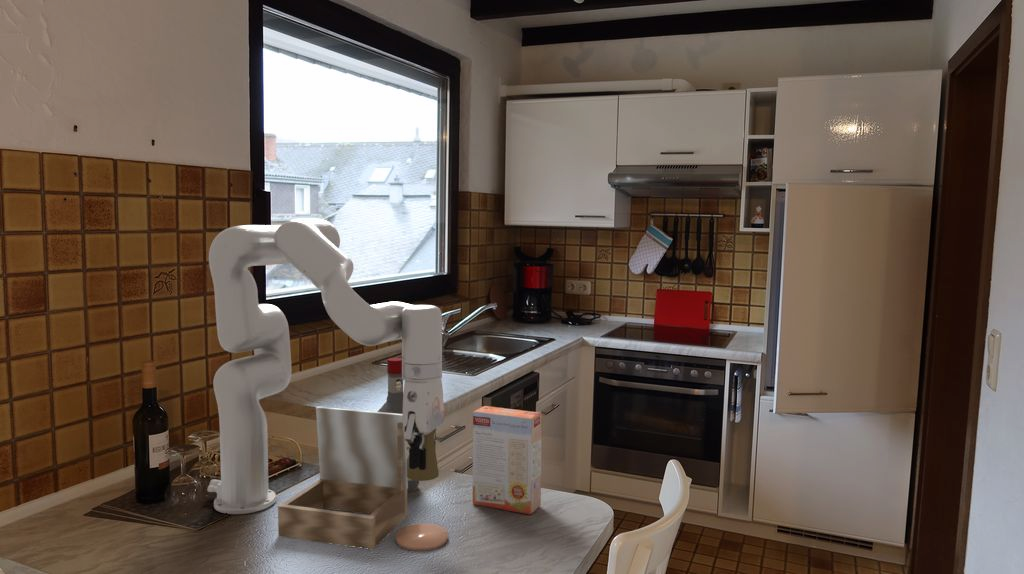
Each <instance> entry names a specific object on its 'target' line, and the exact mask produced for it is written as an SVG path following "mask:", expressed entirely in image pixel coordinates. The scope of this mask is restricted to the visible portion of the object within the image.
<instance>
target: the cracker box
mask: <svg viewBox="0 0 1024 574" xmlns="http://www.w3.org/2000/svg"><path fill="white" fill-rule="evenodd" d="M472 415H473V416H472V504H474V505H477V506H483V507H487V508H494V509H500V510H504V511H510V512H514V513H519V514H525V515H532V514H533V513H534V512H535V511H536V510H538V509H539V508H540V507H541V501H542V499H541V498H542V497H541V493H542V492H541V491H542V490H541V489H542V484H541V483H542V424H543V422H542V420H543V419H542V415H543V414H542V412H538V411H531V410H530V411H529V410H523V409H522V410H521V409H513V408H506V407H505V408H504V407H498V406H497V407H496V406H490V405H489V406H488V405H484V406H481V407H479V408H477V409H476V410H475V409H474V411H472Z"/></svg>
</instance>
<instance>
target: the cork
mask: <svg viewBox="0 0 1024 574" xmlns="http://www.w3.org/2000/svg"><path fill="white" fill-rule="evenodd" d="M415 432H419V430H418V429H415ZM435 433H436V434H437V429H434V430H433V431H432V432H430V433H429V434H427V435H425V441H424V448H425V449H426V469H425V470H420V469H419V467H417V468H415V469H410V467H409V464H408V472H407V477H408V478H409V479H411V480H416V481H419V482H423V481H424V482H425V481H426V482H427V481H431V480H434V479H437V478H438V477H439V475H440V474H439V466H438V459H437V453H436V452H437V451H436V443H435V444H434V434H435ZM414 436H415V437H416V438H418V439H419V441H420V436H416V435H414Z"/></svg>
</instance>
